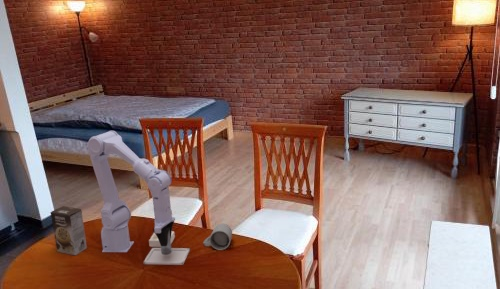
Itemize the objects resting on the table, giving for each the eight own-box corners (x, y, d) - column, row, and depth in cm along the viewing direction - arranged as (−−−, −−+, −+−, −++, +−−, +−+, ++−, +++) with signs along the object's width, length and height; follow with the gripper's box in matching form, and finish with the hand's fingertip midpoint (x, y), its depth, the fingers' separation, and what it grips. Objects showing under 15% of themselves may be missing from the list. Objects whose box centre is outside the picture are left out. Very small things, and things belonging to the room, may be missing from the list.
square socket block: (149, 247, 166) (148, 240, 165) (155, 238, 173) (155, 231, 172) (169, 248, 165) (168, 240, 164) (174, 238, 172) (174, 231, 171)
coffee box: (56, 252, 165) (49, 212, 161) (69, 244, 171) (62, 205, 167) (75, 256, 162) (68, 215, 158) (87, 247, 168) (81, 208, 163)
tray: (143, 265, 154) (143, 262, 153) (152, 250, 163) (152, 247, 163) (183, 266, 152) (182, 262, 152) (189, 251, 162) (189, 248, 161)
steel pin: (159, 254, 156) (156, 230, 154) (164, 249, 159) (161, 226, 157) (168, 255, 155) (166, 231, 153) (173, 250, 158) (171, 227, 156)
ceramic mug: (233, 239, 169) (232, 221, 167) (230, 250, 161) (229, 230, 159) (206, 240, 170) (204, 221, 168) (202, 250, 162) (200, 231, 160)
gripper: (167, 215, 145) (171, 253, 149) (178, 198, 159) (182, 233, 163) (146, 215, 146) (150, 252, 149) (159, 198, 160) (163, 233, 163)
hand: (165, 242), depth 156 cm, fingers closed on steel pin, 4 cm apart
